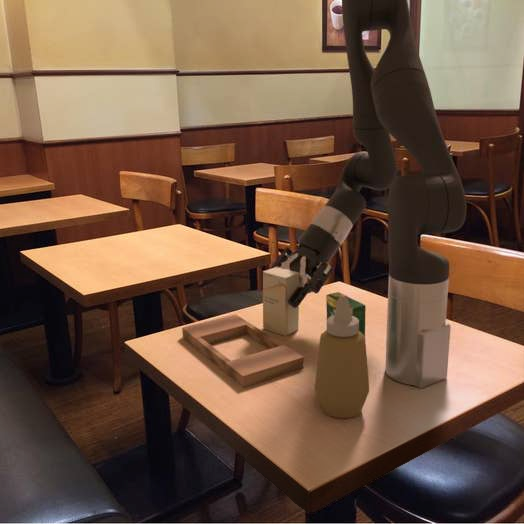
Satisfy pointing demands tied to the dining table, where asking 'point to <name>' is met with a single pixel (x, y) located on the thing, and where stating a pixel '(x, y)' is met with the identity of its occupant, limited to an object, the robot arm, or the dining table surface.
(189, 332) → the wooden frame
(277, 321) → the skincare box
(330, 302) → the coffee box
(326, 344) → the squeeze bottle
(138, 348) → the dining table surface
